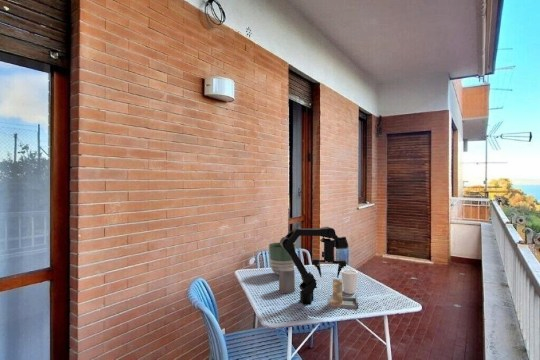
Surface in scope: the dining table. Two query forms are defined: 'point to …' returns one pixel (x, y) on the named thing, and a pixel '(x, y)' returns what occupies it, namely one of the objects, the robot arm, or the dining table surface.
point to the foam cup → (349, 281)
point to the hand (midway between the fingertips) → (329, 277)
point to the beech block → (337, 291)
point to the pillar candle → (286, 279)
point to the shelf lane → (345, 302)
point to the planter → (279, 257)
